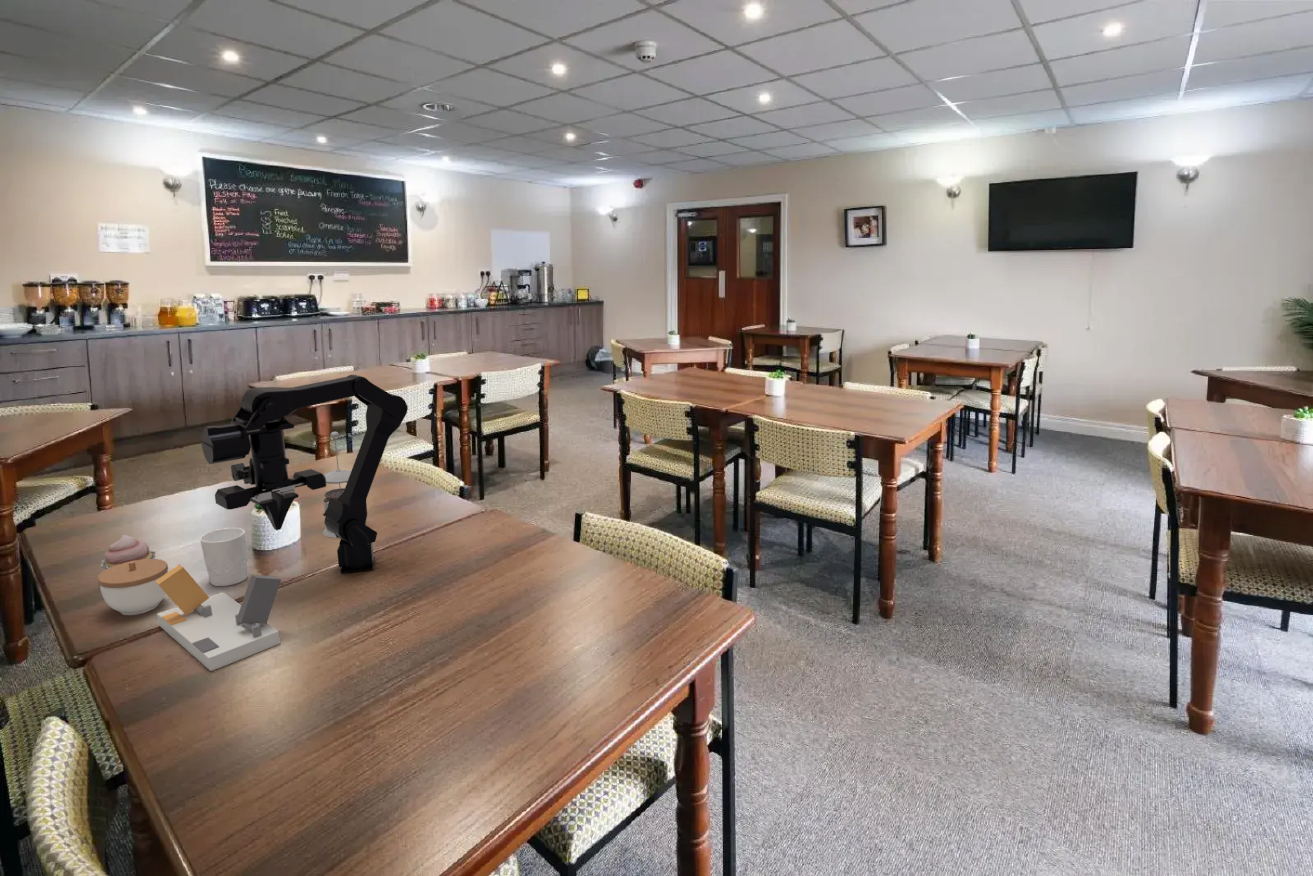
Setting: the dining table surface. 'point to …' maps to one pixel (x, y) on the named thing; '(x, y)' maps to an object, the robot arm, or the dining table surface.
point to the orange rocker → (183, 590)
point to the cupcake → (126, 552)
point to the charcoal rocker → (258, 600)
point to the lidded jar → (133, 586)
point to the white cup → (225, 556)
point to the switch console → (217, 632)
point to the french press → (334, 478)
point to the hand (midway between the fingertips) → (277, 529)
